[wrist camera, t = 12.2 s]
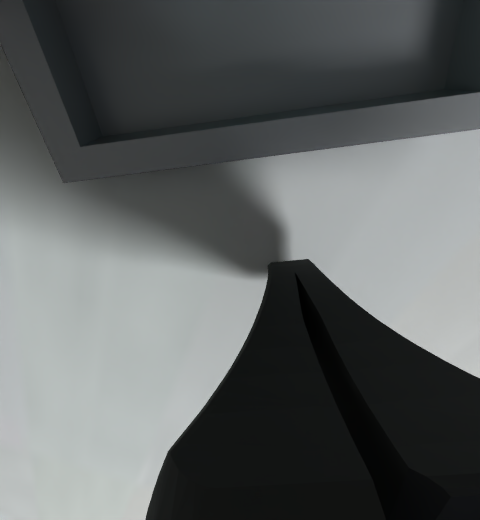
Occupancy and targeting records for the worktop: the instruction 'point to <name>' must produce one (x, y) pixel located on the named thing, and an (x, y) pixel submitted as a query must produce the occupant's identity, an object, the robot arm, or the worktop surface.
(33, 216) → the worktop surface
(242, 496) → the robot arm
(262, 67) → the tray
